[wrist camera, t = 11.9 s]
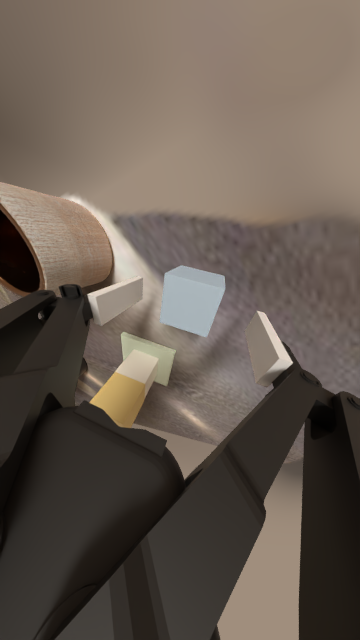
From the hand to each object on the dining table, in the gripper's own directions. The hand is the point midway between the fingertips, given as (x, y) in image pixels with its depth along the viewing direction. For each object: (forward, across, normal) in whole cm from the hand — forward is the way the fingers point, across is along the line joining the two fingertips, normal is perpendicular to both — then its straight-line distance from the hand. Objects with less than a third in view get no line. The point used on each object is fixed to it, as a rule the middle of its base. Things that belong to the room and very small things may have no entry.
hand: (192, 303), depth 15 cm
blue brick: (+5, 0, 0) cm, 5 cm away
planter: (+5, -19, +2) cm, 20 cm away
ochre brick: (-2, -7, -19) cm, 21 cm away
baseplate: (+4, -7, -19) cm, 21 cm away
